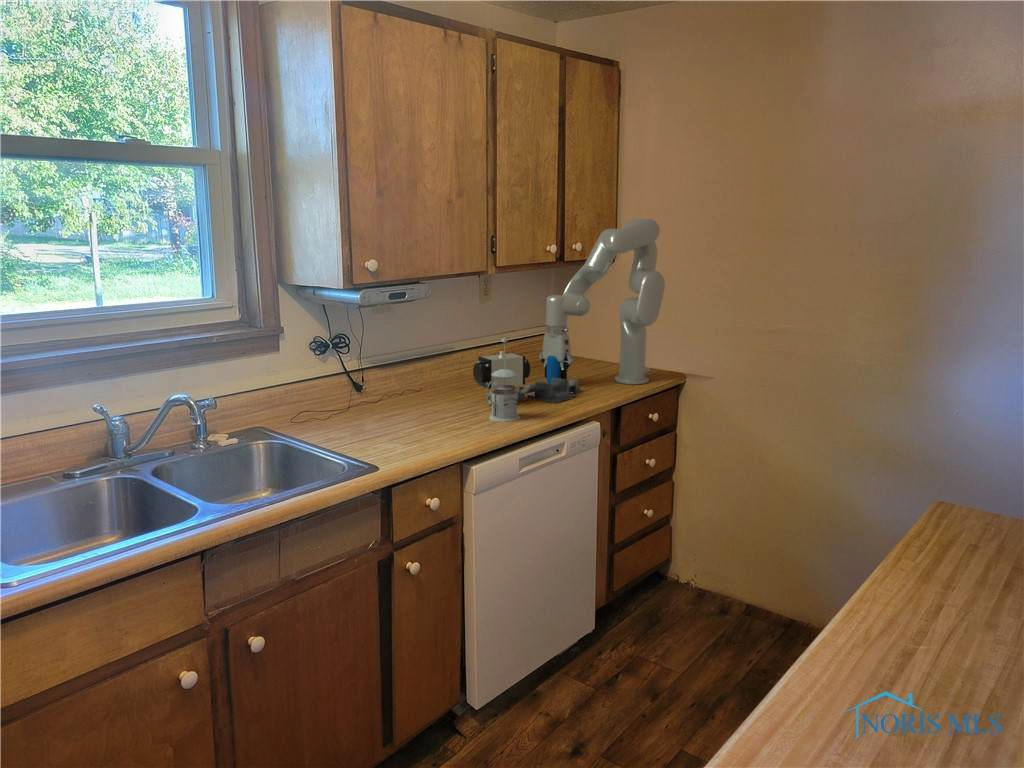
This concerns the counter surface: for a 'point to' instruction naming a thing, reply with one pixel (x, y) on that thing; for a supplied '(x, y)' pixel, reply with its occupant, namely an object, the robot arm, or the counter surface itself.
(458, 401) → the counter surface
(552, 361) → the beverage can
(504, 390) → the french press
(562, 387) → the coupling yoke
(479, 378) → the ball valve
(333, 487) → the counter surface
